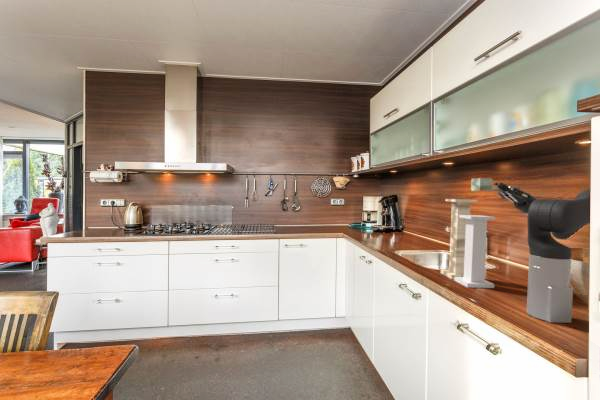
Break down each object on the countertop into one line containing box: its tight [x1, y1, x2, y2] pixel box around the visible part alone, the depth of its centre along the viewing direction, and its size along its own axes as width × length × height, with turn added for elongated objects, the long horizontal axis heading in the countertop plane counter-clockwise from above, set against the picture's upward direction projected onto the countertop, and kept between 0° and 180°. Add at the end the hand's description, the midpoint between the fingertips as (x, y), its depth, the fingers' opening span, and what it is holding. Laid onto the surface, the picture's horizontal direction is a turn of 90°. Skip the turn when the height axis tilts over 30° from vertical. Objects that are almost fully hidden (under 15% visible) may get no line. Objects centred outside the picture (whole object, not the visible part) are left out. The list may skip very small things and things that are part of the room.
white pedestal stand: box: [453, 214, 496, 289], centre depth 118 cm, size 9×10×26 cm
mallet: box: [470, 177, 521, 192], centre depth 129 cm, size 6×18×5 cm, turn 92°
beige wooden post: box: [440, 198, 479, 280], centre depth 129 cm, size 9×10×32 cm
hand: (496, 184), depth 129 cm, fingers closed on mallet, 2 cm apart
